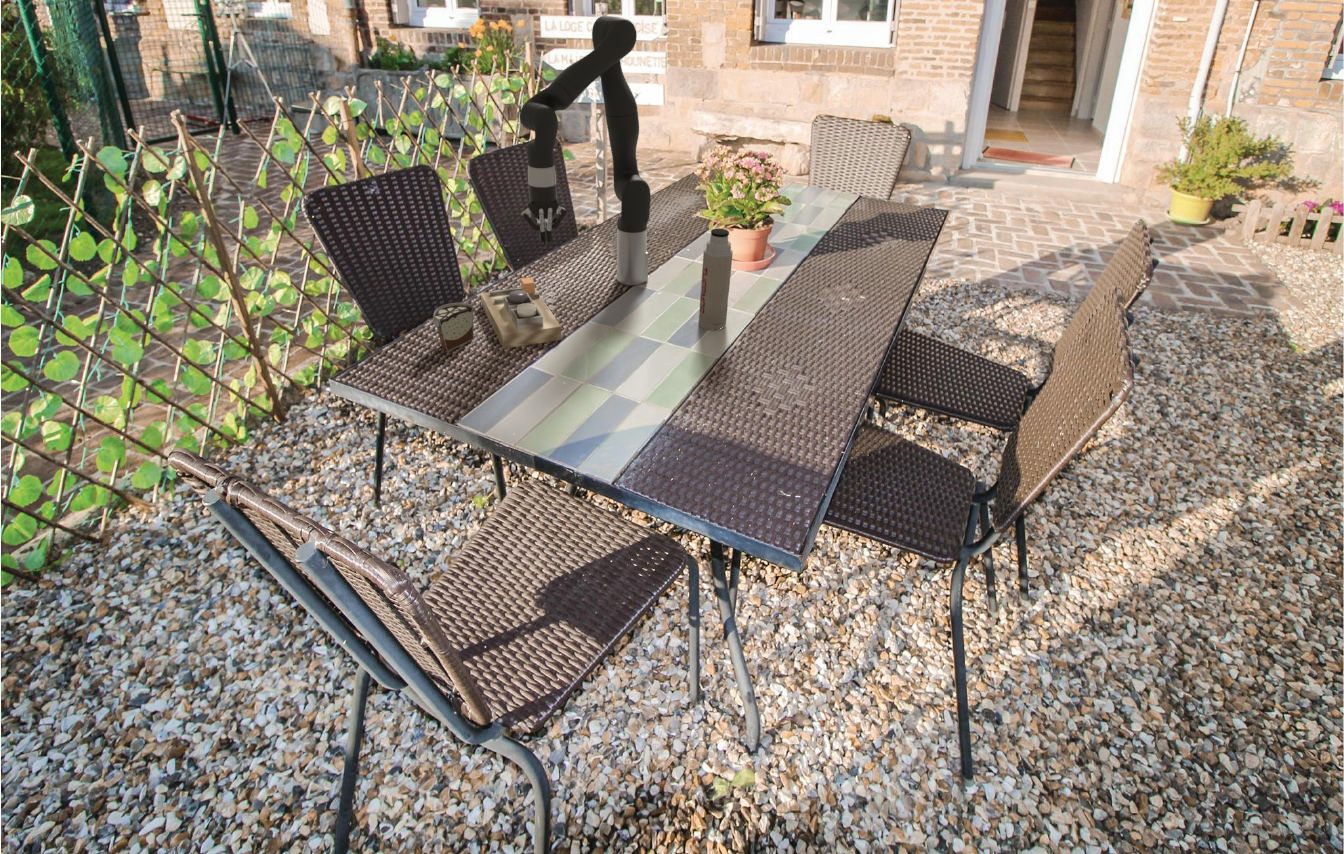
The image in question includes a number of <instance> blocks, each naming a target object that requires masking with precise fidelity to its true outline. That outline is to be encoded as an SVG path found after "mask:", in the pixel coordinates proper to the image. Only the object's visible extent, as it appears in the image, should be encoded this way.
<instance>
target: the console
mask: <svg viewBox="0 0 1344 854" xmlns="http://www.w3.org/2000/svg"><path fill="white" fill-rule="evenodd" d="M515 290H521V286H520V287H512V288H506V289H498V290H489V291H486V292H481V293H480V302H481V306H482V307H481V308H482V309H483V311H484V313H485V315H486V316H487V319H488V320H489V321H488V322H490V324H491V326H492V328H493V330H494V332H495V334H496V337H497V339H498V340H499V342H500V344H501V346H502V348H503V349H509V348H515V347H517V348H518V347H523V346H530V345H535V344H540V343H541V344H542V343H548V342H555V341H561V340H562V326H561V324H560V323H559V321H558V320H557V318H556V317H555V315H554V314H553V313H552V311H551V310H550V308H549V306H548V305H547V304H546V302H545V300H544V299H543V298H542V296H541V295H540V293H539V292H538V290H537V288H535V294H528V293H527V299H528V300H527V301H526V302H525V303H530V304H533V305H535V306H536V314H535V315H534V316H532V317H520V316H518V314H517V306H518V305H520V304H523V303H520V304H515V303H512V302H510V301H509V293H510V292H512V291H515Z"/></svg>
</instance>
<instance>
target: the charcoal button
mask: <svg viewBox="0 0 1344 854" xmlns="http://www.w3.org/2000/svg"><path fill="white" fill-rule="evenodd" d="M527 300H528V299H527V292H525V291H522V290H515V291H512V292H510V293H509V301H510V302H512V303H515V304H520V303H525V302H526V301H527Z"/></svg>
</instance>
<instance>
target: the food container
mask: <svg viewBox="0 0 1344 854" xmlns="http://www.w3.org/2000/svg"><path fill="white" fill-rule="evenodd" d="M475 311H476V310H475V308H474V306H473V304H471V303H468V302H452V303H451V302H450V303H447V304H442V305H441V306H439V307H437V308H436V309H435V310H434V312H433V315H432V323H433V324H434V326H436V328H437V333H438V336H439V341H440V345H441V348H442V350H443V351H444V352H446V353H448V352H451V351H453V350H455V349H456V348H459V347H462V346H463V345H466V344H467V343H469V342H472V341H473V340H474V339H475V336H474V312H475Z"/></svg>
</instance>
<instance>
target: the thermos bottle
mask: <svg viewBox="0 0 1344 854" xmlns="http://www.w3.org/2000/svg"><path fill="white" fill-rule="evenodd" d="M729 235H730V232H729V230H728V229H725V228H718V227H717V228H713V229H711V231H710V238H709V239H708V240H707V242H706V244H705V245H706V246H705V247H704V249H703V253H702V254H703V256H702V257H703V259H702V270H701V287H700V288H701V289H700V296H699V297H700V299H699V300H700V301H699V309H698V310H699V313H698V325H699V327H700V328H702V327H703V328H702V329H704V328H705V330H708V329H720V328H722V327H724V326H725V325H726V326H727V315H728V305H729V293H730V284H731V277H732V276H731V274H732V272H731V271H732V263H733V250H732V245H731V244H732V243H731V242H730V241H729ZM726 326H725V327H726ZM725 327H724V328H725ZM720 330H721V329H720Z"/></svg>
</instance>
